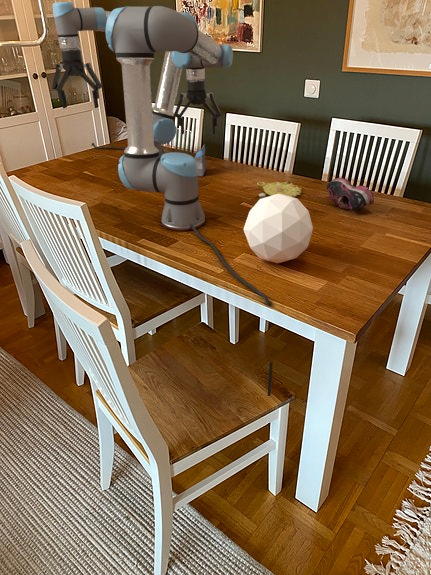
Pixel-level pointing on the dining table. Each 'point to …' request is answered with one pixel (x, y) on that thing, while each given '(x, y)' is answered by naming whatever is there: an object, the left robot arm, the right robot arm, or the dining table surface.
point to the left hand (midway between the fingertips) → (80, 107)
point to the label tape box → (200, 161)
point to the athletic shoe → (349, 194)
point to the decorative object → (280, 189)
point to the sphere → (278, 228)
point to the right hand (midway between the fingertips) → (198, 133)
